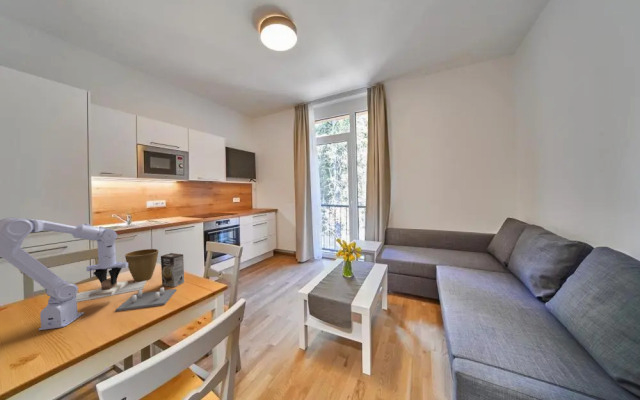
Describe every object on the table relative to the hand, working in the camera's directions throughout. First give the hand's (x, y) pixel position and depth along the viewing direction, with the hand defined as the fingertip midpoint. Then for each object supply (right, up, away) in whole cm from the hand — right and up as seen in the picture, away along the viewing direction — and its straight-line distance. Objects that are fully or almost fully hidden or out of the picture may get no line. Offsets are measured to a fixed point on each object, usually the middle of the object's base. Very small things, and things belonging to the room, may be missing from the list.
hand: (109, 284), depth 99 cm
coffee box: (+16, -8, +20) cm, 27 cm away
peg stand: (+16, -8, +3) cm, 18 cm away
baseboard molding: (-12, -9, +10) cm, 18 cm away
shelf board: (0, -3, 0) cm, 3 cm away
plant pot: (-6, -8, +27) cm, 28 cm away
